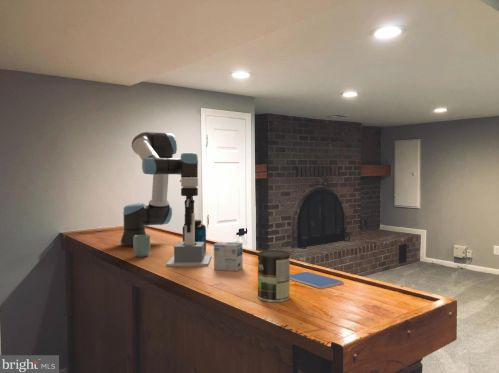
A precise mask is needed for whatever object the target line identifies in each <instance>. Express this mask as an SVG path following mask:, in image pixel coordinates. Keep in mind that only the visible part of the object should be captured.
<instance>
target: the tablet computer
mask: <svg viewBox="0 0 499 373" xmlns="http://www.w3.org/2000/svg"><path fill="white" fill-rule="evenodd" d="M290 280H291V281H292V282H293V281H294V282H297V283H299V284H300V283H301V284H303V285H307V286H310V287H313V288H316V289H319V290H323V289H327V288H331V287H335V286H339V285H344V281H343V280H339V279H336V278H331V277H328V276H324V275H321V274H316V273H313V272H310V271H303V272H298V273H294V274H293V273H292V274H290Z"/></svg>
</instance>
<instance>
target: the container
mask: <svg viewBox="0 0 499 373" xmlns="http://www.w3.org/2000/svg"><path fill="white" fill-rule="evenodd" d="M182 242H185V225H184V224H183V226H182ZM195 242H204V253H205V252H206V251H207V227H206V225H205V224H203V223H202V220H201V219H195Z"/></svg>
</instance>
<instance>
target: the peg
mask: <svg viewBox="0 0 499 373" xmlns="http://www.w3.org/2000/svg"><path fill="white" fill-rule="evenodd" d="M195 216H196V215H195V212H194V213H192V240H186V225H185V245H194V244H195V220H196V219H195Z"/></svg>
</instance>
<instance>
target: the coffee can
mask: <svg viewBox="0 0 499 373" xmlns="http://www.w3.org/2000/svg"><path fill="white" fill-rule="evenodd" d="M290 257H291V253H290V252H288V251H285V250H279V249H278V250H276V249H275V250H272V249H269V250H261V251H258V252H257V298H258V300H260V301H262V302H266V303H282V302H286V301H288V300H289V299H290V297H291V296H290V292H291V290H290V285H291V284H290V275H291V274H290V273H291V272H290V267H291V266H290V265H291V263H290V261H291V260H290Z"/></svg>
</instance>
